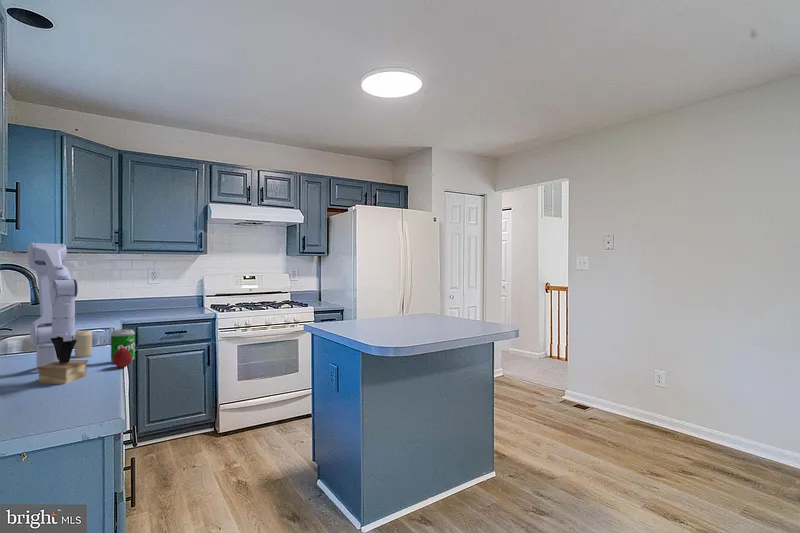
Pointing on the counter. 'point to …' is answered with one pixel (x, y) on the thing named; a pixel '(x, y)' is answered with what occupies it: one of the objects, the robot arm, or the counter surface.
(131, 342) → the soda can
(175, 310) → the counter surface
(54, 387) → the counter surface
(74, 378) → the box
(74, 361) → the lid
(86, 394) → the counter surface
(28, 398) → the counter surface
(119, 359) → the onion
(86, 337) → the candle
